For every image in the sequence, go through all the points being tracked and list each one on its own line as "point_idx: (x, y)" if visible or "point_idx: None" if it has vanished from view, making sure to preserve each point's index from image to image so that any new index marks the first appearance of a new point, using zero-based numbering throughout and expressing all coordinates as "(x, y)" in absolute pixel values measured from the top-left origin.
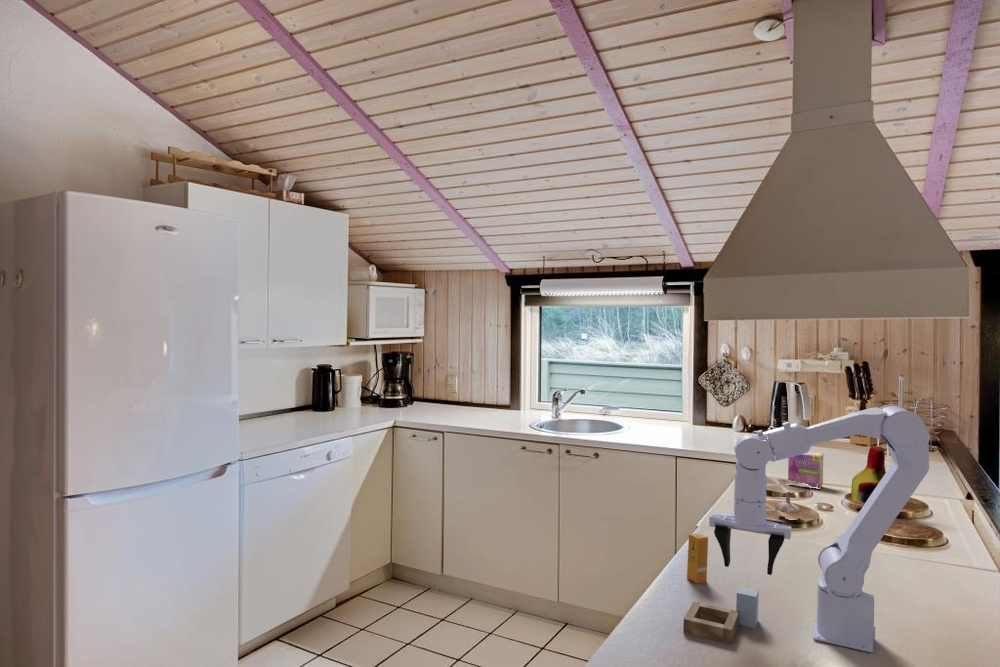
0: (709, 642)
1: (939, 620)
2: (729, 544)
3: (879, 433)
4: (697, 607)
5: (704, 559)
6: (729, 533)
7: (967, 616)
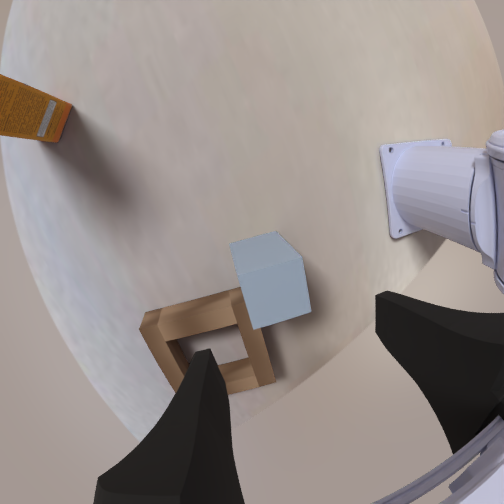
0: None
1: (469, 40)
2: (206, 423)
3: None
4: (166, 351)
5: (32, 104)
6: (216, 495)
7: (474, 19)
